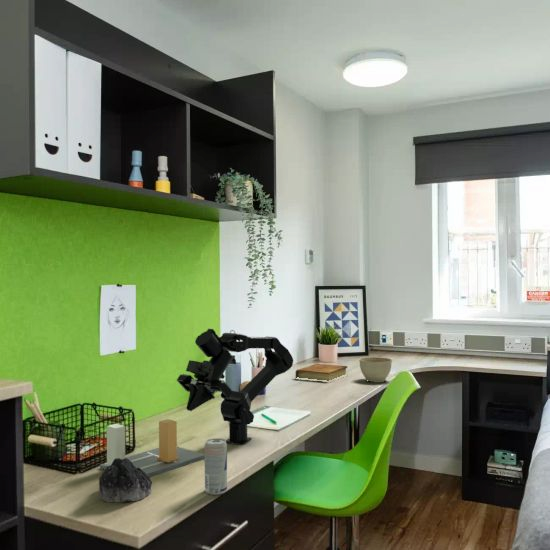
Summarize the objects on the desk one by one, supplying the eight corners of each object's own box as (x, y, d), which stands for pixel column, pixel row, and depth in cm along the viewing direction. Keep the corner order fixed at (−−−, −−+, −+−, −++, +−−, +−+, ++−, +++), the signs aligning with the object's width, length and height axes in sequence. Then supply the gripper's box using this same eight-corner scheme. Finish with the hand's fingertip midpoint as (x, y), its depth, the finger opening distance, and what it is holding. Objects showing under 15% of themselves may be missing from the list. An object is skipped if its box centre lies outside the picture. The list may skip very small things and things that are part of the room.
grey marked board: (169, 447, 171) (169, 444, 171) (205, 458, 161) (205, 454, 161) (100, 468, 153) (100, 464, 153) (135, 481, 142) (135, 477, 142)
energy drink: (227, 486, 138) (227, 438, 139) (226, 495, 133) (226, 444, 133) (205, 487, 138) (205, 438, 138) (203, 495, 133) (203, 444, 133)
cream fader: (117, 461, 155) (117, 423, 155) (127, 465, 151) (127, 425, 152) (104, 465, 151) (104, 426, 152) (114, 468, 148) (114, 429, 148)
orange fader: (168, 455, 159) (167, 418, 159) (179, 459, 156) (178, 421, 156) (156, 459, 156) (156, 421, 156) (167, 462, 153) (167, 424, 153)
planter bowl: (353, 381, 279) (353, 359, 279) (368, 377, 292) (368, 356, 292) (383, 385, 269) (382, 362, 269) (397, 380, 282) (397, 358, 282)
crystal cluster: (138, 482, 144) (133, 443, 144) (165, 493, 134) (160, 451, 134) (88, 500, 135) (83, 459, 135) (112, 513, 125) (107, 468, 125)
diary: (315, 374, 306) (315, 363, 306) (347, 377, 296) (347, 366, 296) (295, 380, 286) (295, 369, 286) (329, 383, 276) (329, 372, 276)
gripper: (181, 347, 172) (152, 389, 164) (224, 352, 160) (195, 397, 151) (200, 370, 178) (173, 411, 169) (243, 376, 166) (216, 421, 157)
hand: (188, 409), depth 162 cm, fingers closed
